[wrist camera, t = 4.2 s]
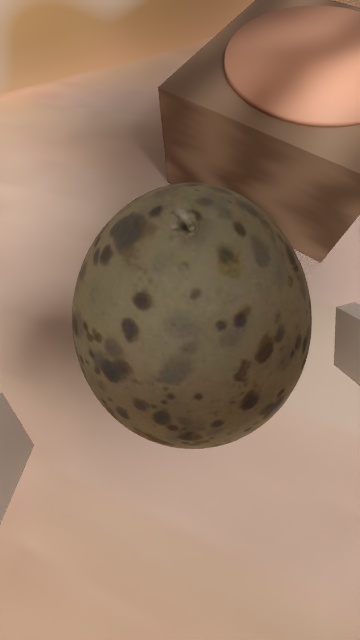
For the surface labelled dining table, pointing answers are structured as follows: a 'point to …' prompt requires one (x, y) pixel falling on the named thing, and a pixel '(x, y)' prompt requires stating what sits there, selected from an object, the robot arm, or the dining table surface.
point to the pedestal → (275, 117)
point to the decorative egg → (191, 316)
